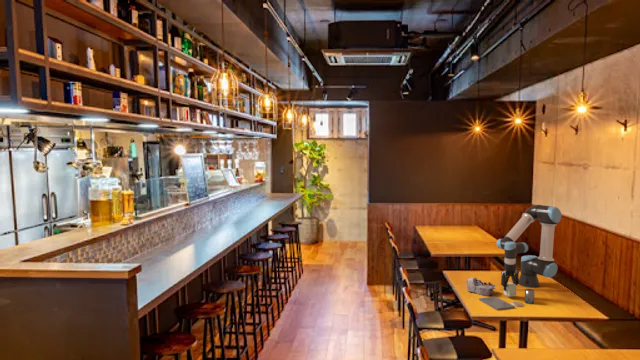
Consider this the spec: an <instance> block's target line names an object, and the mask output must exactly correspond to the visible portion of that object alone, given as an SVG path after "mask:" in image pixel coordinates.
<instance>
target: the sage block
mask: <svg viewBox="0 0 640 360" xmlns="http://www.w3.org/2000/svg"><path fill="white" fill-rule="evenodd" d="M507 287H508V295H506V296H507V297H514V296H515V297H516V296H517V286H516V284H513V282H511V281H508V283H507Z"/></svg>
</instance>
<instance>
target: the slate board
mask: <svg viewBox="0 0 640 360" xmlns="http://www.w3.org/2000/svg"><path fill="white" fill-rule="evenodd" d="M478 300H479V301H480V302H481V303H483V304H484V305H486V306H489V307H490V308H492V309H494V310H496V311H503V310H504V311H505V310H511V309H516V306H513V305H511V303H508V302H507V301H505V300H503V299H501V298H500V297H497V296H489V297H488V296H487V297H481V298H480V297H479V298H478Z"/></svg>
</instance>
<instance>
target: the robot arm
mask: <svg viewBox="0 0 640 360" xmlns="http://www.w3.org/2000/svg"><path fill="white" fill-rule="evenodd" d="M536 220H539V224H540V225H541V231H540V232H541V234H540V246H539V247H540V249H539V256H536V255H531V254H530V255H529V254H528V255H523V256H521V258H520V271H519V270H516V268H517V265H516V263H517V255H519V254H524V253H527V252H528V251H529V245H528V244H527V243H526V242H522V241H521V242H517V240H518V239H519V238H520V236H521V235H522V234H523V232H525V230H526V229H527V228H528V227H529V226H530V224H531V223H534V222H535V221H536ZM561 220H562V212H561V210H560V208H559V207H557V206H553V205H552V206H551V205H542V204H534V205H532V206H530V207H528V208H527V209H526V210H525V211H524V212H523V213H522V215H521V218H520V219H518V221H517V222H516V223H515V225H514V226H513V227H512V228H511V229H510V230H509V231H508V232H507V233H506V235H505V236H504V238H499V239H497V240H496V247H497V248H498V249H500V250H504V266H503V267H504V271H501V272H500V273H501V278H500V279H501V281H500V285H501V286H503V295H505V296H507V295H508V287H507V283H509V279H510V278H511V281H512V283H513V284H516V287H517V286H518V285H520V286H523V287H526V288H538V287H540V281H539V278H538V275H539V276H542V277H544V278H549V279H550V278H553V277H554V276H555V275H557V272H558V268H559V267H558V264H557V263H556V262H555V259H554V258H553V253H554V238H555V227H556V226H557V225H558V224H559V222H561ZM519 274H520V275H519Z"/></svg>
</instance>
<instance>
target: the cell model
mask: <svg viewBox="0 0 640 360" xmlns="http://www.w3.org/2000/svg"><path fill="white" fill-rule="evenodd" d="M495 287H496V284H493V283H491V282H488V283H487V281H486V282H482V280H481V279H477V277H476V276H475V277H474V276H473V277H472V276H471V277H468V278H467V280H466V289H467V292H469V293H474V294H476V295H481V296H487V297H488V296H489V297H490V295H493V293H494V292H495V290H496V288H495Z"/></svg>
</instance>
